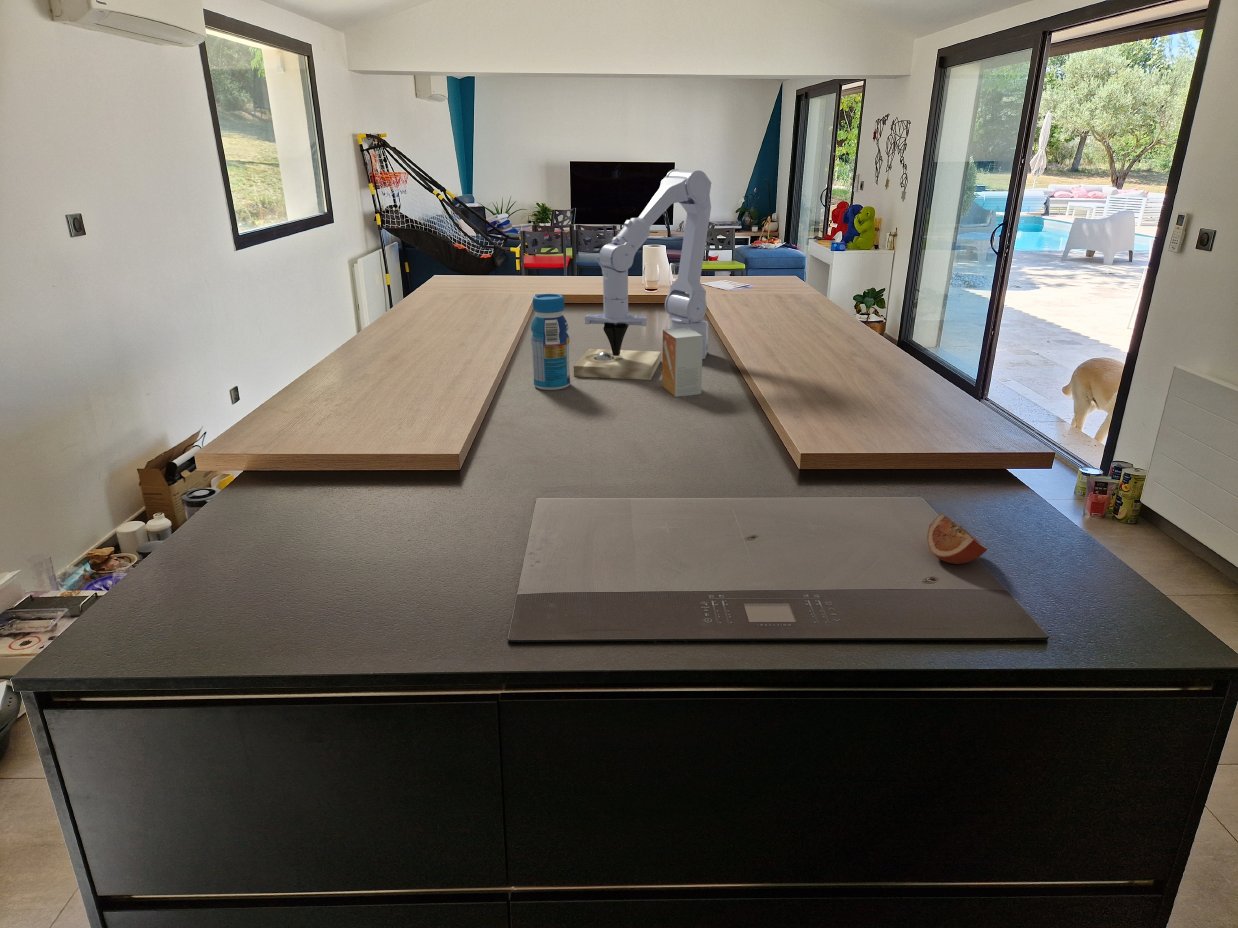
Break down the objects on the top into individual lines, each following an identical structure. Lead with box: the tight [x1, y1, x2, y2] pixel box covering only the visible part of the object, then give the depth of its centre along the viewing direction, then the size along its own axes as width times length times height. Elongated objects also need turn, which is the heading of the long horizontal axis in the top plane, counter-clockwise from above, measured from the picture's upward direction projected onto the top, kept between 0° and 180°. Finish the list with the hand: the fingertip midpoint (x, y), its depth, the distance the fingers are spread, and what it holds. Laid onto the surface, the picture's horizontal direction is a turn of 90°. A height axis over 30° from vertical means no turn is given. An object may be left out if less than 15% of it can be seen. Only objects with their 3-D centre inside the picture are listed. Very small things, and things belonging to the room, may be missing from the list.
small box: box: [661, 328, 703, 398], centre depth 175 cm, size 8×6×13 cm
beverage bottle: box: [530, 293, 571, 391], centre depth 178 cm, size 8×8×20 cm
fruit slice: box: [926, 512, 988, 565], centre depth 107 cm, size 8×7×5 cm
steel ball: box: [596, 352, 612, 361], centre depth 194 cm, size 4×4×4 cm
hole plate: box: [573, 348, 662, 381], centre depth 194 cm, size 18×16×2 cm
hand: (616, 354), depth 193 cm, fingers closed
